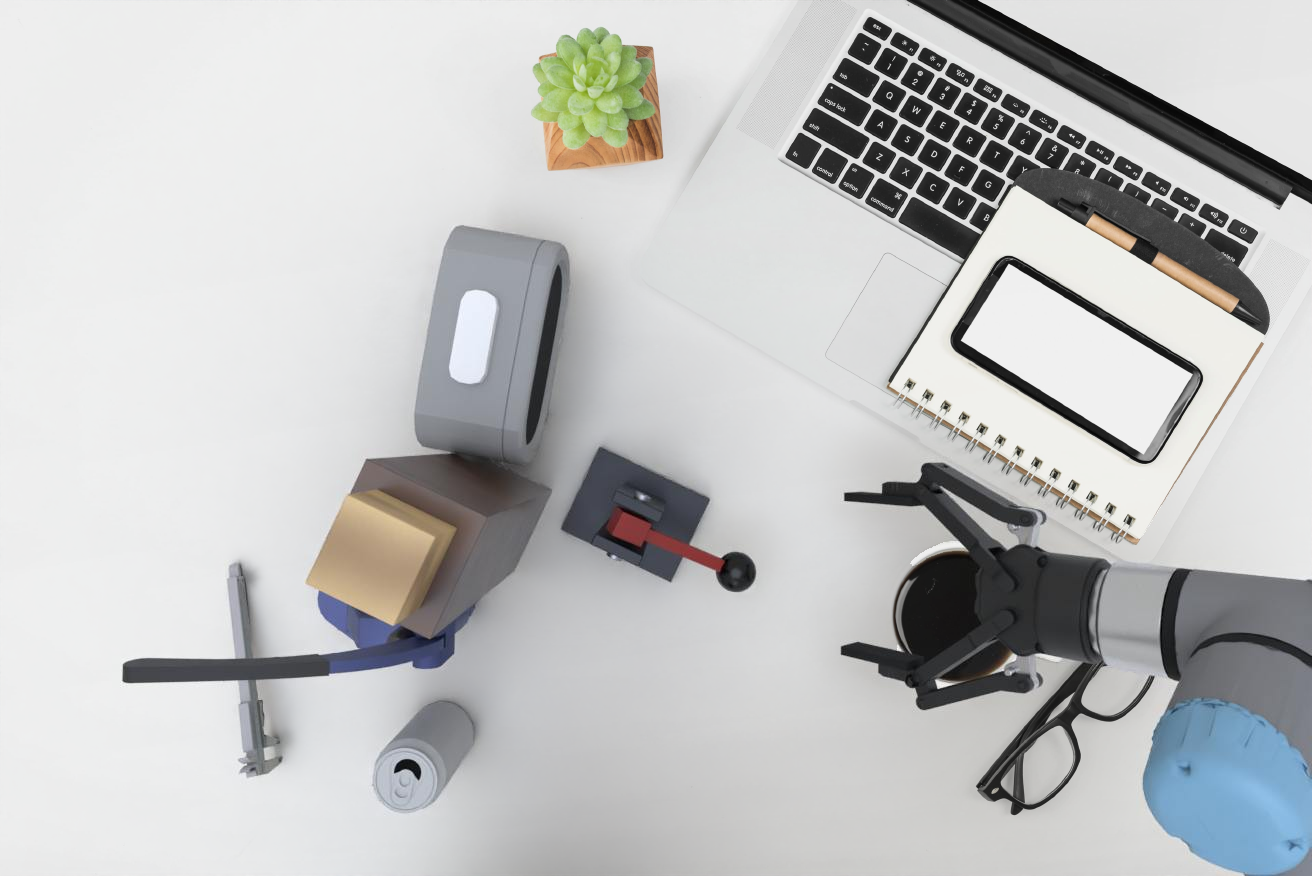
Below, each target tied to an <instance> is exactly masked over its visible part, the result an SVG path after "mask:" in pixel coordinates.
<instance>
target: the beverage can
mask: <svg viewBox="0 0 1312 876" xmlns="http://www.w3.org/2000/svg"><path fill="white" fill-rule="evenodd" d="M474 738H475V730H474V724H473V722H472V720H471V718H470V716H469V715H468V713H466V712H465V710H463V709H462V707H460V706H459V705H456V704H454V703H451V702H447V701H437V702H432V703H430V704H428V705H425V706H424V707H423V708H421V709H420V710H419V711H417V713H416V714H415V715H414V716H413V717H412V718H411V719H410V721H408V722H407V723H406V725H405V726H404V727H403V728H402V729H401V730H400V731H399V732H398V733H397V734H396V736H394V738H393V739H392V740H391V741H390V742H389V743H388V744H387V745H386V746H385V747H384V748H383V749H382V750H381V752H380V753H379V755H378V756H377V758H376V760H375V764H374V768H373V773H372V786H373V791H374V793H375V796H376V798H377V799H378V800H379V801H380V803H381V804H382V805H383V806H384V807H386V808H387V809H389V810H390V811H393V812H396V813H399V814H412V813H416V812H419V811H421V810H423V809H425V808H428V807H430V806H432V804H434V803H435V802H436V801H437V799H438V798H439V797H440V796H441V794H442V793H443V791H444V790H445V788H446V787H447V786H448V784H449V782H450V781H451V780H452V778H453V777H454V775H455V773H456V772H457V770H458V768H459V767H460V765H461V764H463V761H464V760H465V759H466V757H467V755H468V754H469V752H470V750H471V748H472V746H473V743H474Z"/></svg>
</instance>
